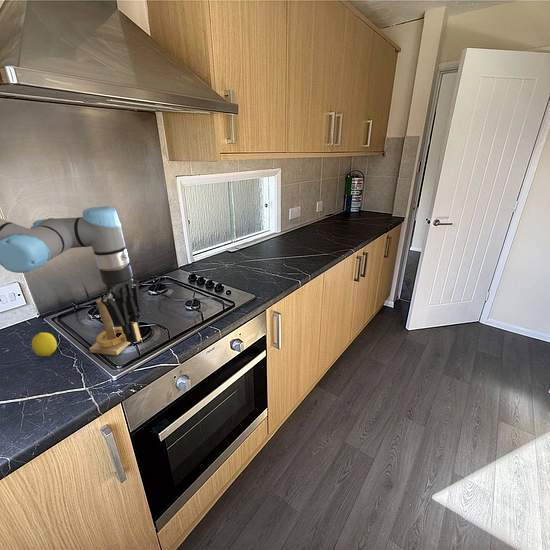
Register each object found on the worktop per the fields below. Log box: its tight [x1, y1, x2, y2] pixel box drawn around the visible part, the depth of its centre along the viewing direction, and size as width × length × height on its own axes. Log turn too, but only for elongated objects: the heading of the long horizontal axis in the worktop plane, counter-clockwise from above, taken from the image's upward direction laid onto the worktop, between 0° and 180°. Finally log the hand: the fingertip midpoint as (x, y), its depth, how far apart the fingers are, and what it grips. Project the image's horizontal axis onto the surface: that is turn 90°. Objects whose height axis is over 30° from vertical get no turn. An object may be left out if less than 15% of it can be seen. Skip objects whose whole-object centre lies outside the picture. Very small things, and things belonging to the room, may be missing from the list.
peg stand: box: [89, 298, 132, 356], centre depth 87 cm, size 9×9×16 cm
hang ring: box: [96, 322, 142, 347], centre depth 88 cm, size 13×8×6 cm, turn 79°
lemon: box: [31, 332, 58, 357], centre depth 84 cm, size 6×6×8 cm
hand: (134, 339), depth 88 cm, fingers closed on hang ring, 2 cm apart
